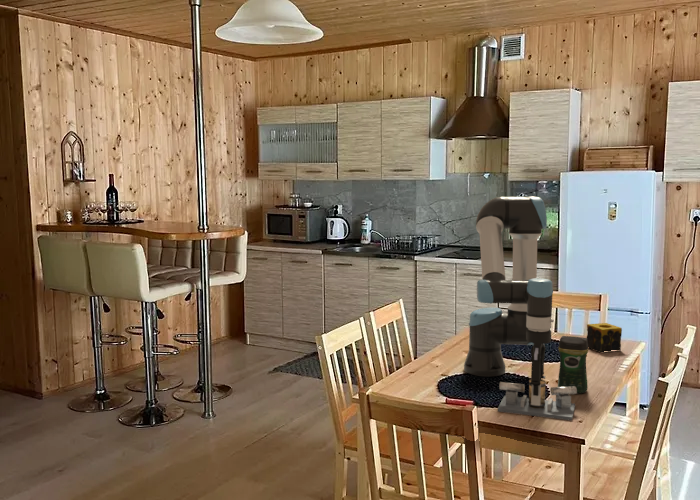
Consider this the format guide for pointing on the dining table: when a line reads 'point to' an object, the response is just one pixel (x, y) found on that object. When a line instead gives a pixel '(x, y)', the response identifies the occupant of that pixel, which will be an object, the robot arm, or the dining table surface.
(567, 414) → the grey mounting plate
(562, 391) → the shaft right
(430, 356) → the dining table surface
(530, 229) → the robot arm
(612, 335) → the candle
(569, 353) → the coffee jar
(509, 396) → the shaft left
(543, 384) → the cylinder
